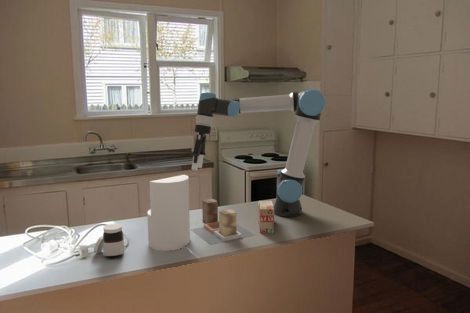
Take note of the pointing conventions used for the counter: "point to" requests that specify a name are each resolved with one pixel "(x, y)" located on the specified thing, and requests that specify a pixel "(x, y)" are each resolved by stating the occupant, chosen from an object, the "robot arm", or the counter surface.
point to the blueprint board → (213, 236)
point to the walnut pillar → (210, 211)
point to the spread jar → (111, 242)
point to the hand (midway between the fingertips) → (196, 168)
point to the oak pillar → (227, 222)
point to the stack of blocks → (266, 216)
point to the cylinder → (169, 213)
